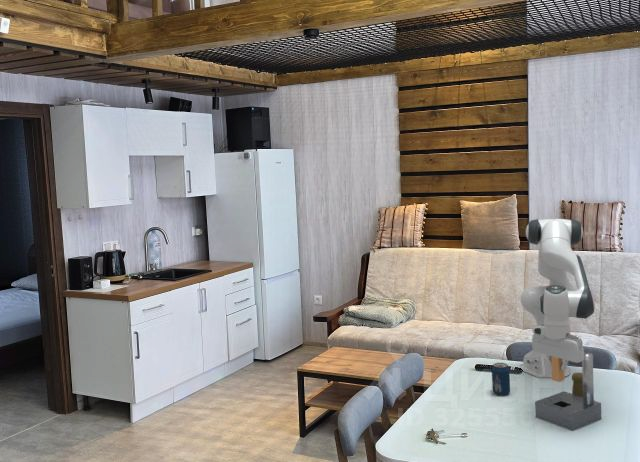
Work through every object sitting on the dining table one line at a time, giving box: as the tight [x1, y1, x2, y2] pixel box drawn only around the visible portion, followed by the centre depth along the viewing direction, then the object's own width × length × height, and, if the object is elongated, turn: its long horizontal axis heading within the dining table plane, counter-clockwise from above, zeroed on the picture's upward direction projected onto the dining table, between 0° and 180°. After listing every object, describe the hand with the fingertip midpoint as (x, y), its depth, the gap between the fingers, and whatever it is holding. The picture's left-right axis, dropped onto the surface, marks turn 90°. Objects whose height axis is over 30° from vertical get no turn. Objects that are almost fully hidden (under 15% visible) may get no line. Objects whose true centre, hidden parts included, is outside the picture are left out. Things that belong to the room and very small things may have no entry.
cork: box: [571, 372, 583, 397], centre depth 252 cm, size 6×6×11 cm
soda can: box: [491, 362, 511, 397], centre depth 265 cm, size 7×7×12 cm
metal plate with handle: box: [534, 352, 602, 432], centre depth 236 cm, size 16×16×24 cm
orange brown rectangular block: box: [551, 356, 565, 383], centre depth 234 cm, size 3×3×10 cm
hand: (558, 368), depth 234 cm, fingers closed on orange brown rectangular block, 3 cm apart
